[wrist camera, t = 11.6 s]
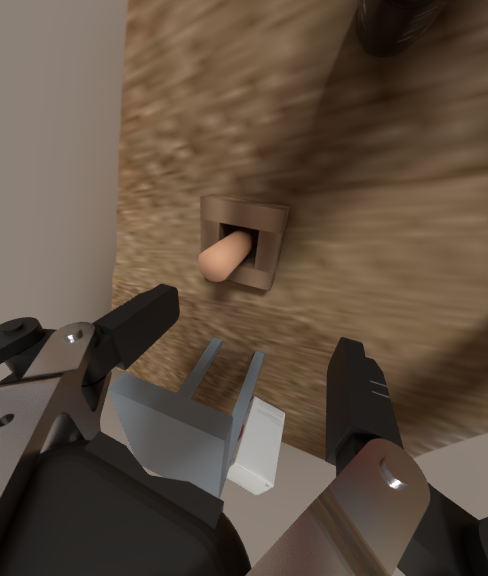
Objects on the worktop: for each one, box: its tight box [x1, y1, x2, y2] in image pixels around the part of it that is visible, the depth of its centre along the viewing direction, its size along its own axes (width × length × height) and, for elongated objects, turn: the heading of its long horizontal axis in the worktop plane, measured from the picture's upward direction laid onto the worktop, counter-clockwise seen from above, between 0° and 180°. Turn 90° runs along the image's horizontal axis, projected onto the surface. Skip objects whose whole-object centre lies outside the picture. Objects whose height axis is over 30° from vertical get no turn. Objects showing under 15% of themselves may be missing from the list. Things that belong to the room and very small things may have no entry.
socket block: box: [200, 195, 289, 291], centre depth 32 cm, size 12×12×4 cm
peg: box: [198, 227, 257, 282], centre depth 29 cm, size 4×4×12 cm
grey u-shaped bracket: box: [108, 337, 264, 499], centre depth 32 cm, size 12×17×24 cm
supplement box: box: [226, 397, 285, 495], centre depth 48 cm, size 9×9×15 cm
